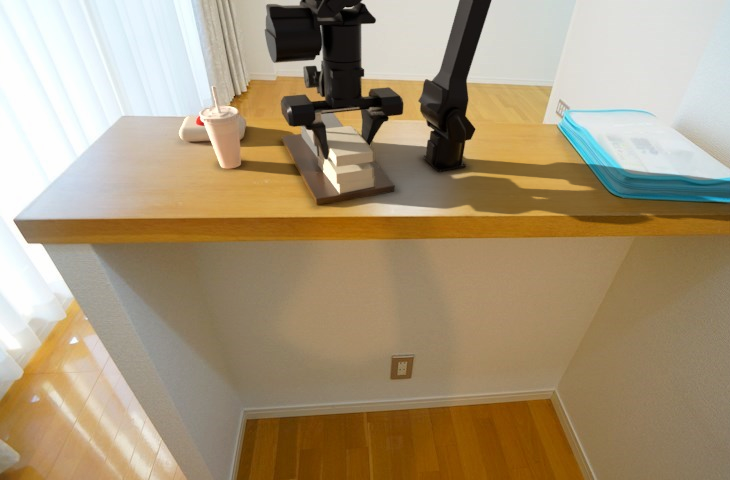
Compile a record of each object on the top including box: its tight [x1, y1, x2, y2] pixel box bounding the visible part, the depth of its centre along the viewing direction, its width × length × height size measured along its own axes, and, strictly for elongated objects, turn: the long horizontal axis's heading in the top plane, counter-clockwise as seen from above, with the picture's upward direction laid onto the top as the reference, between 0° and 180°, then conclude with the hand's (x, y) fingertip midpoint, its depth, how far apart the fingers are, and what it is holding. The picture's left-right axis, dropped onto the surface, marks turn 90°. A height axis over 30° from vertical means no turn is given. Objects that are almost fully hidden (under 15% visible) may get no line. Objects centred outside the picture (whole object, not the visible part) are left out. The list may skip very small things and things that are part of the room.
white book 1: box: [326, 125, 376, 167], centre depth 70 cm, size 6×11×2 cm, turn 25°
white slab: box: [178, 115, 247, 142], centre depth 85 cm, size 12×4×10 cm
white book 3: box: [317, 156, 375, 194], centre depth 73 cm, size 6×11×2 cm, turn 28°
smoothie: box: [199, 85, 242, 169], centre depth 72 cm, size 6×6×14 cm
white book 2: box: [319, 147, 374, 184], centre depth 72 cm, size 6×11×2 cm, turn 24°
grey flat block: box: [304, 113, 344, 146], centre depth 80 cm, size 6×11×3 cm, turn 23°
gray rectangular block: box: [300, 126, 319, 158], centre depth 82 cm, size 6×11×3 cm, turn 27°
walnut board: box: [281, 133, 396, 206], centre depth 79 cm, size 14×26×1 cm, turn 25°
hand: (345, 156), depth 71 cm, fingers closed on white book 1, 6 cm apart
